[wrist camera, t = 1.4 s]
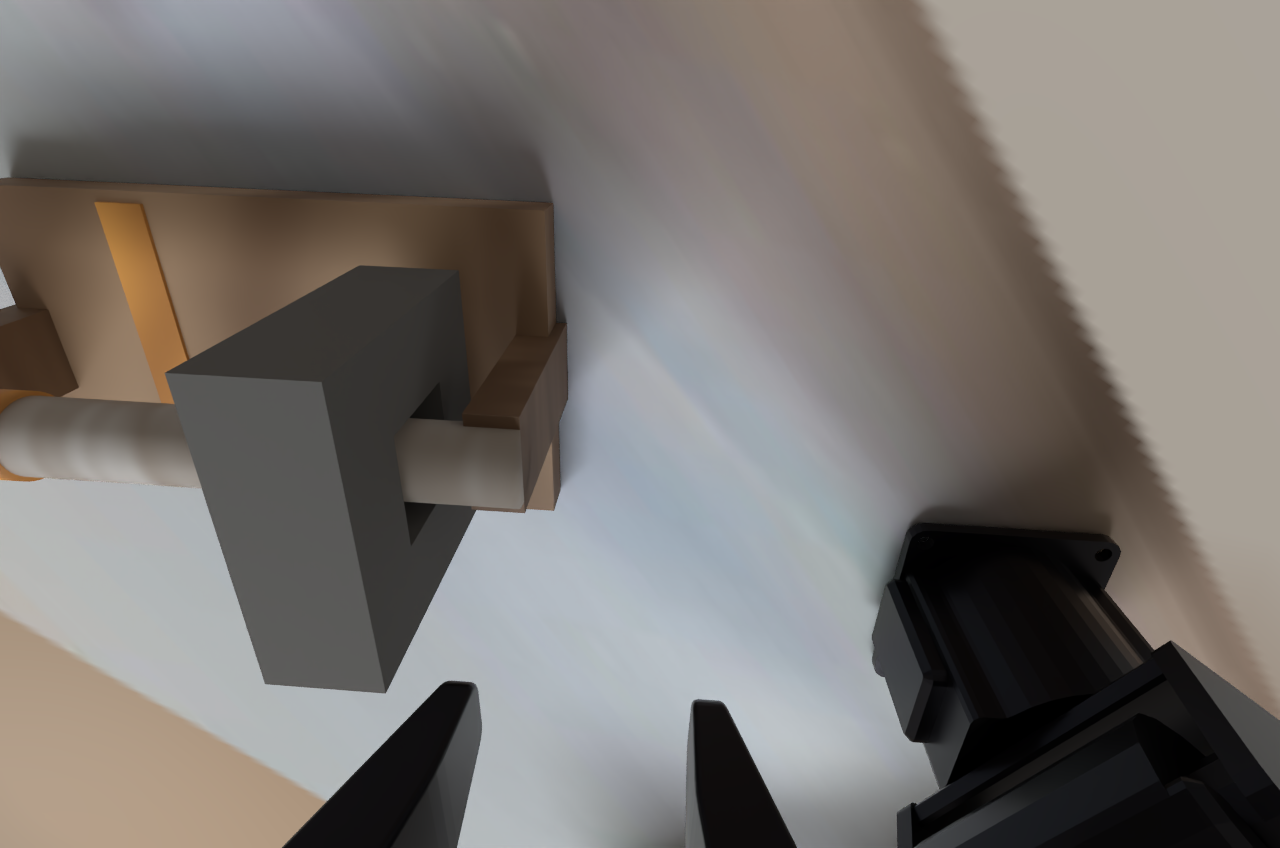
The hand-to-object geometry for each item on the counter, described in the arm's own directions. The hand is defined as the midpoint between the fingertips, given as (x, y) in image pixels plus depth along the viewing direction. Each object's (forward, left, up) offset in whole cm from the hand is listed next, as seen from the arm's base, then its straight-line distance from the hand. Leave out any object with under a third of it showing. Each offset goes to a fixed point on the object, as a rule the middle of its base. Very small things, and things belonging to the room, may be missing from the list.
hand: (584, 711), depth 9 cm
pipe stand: (+10, 0, -12) cm, 16 cm away
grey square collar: (+6, 0, -9) cm, 11 cm away
